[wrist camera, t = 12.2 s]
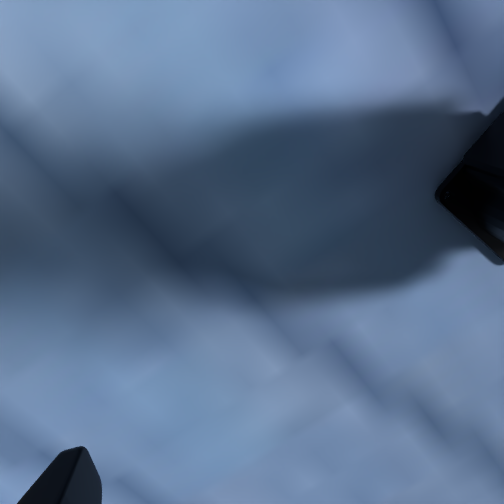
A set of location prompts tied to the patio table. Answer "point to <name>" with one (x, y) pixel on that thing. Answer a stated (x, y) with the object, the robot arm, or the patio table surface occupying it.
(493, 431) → the patio table surface
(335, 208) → the patio table surface
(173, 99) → the patio table surface
